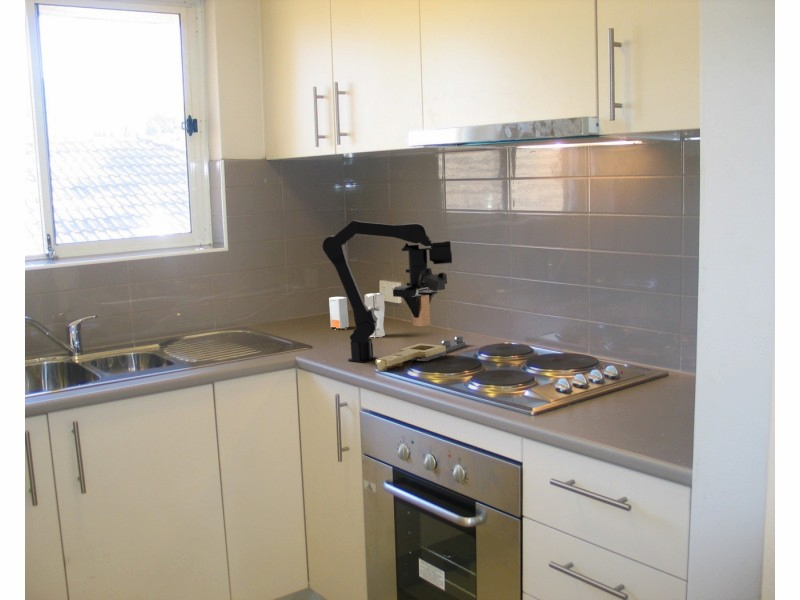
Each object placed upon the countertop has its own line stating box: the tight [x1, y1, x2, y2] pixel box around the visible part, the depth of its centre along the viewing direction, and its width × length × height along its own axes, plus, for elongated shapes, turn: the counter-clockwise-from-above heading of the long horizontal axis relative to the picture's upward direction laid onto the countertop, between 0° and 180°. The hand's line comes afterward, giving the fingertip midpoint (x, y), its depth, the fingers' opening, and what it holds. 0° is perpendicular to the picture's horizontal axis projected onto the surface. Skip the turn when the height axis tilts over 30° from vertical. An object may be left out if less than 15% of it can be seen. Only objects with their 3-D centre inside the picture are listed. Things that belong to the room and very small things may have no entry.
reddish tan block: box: [410, 294, 431, 327], centre depth 246 cm, size 4×4×9 cm
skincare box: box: [328, 296, 350, 328], centre depth 306 cm, size 6×4×12 cm
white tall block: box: [364, 292, 386, 339], centre depth 286 cm, size 7×7×15 cm
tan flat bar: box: [374, 335, 466, 372], centre depth 248 cm, size 41×10×3 cm, turn 141°
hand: (420, 316), depth 246 cm, fingers closed on reddish tan block, 4 cm apart
